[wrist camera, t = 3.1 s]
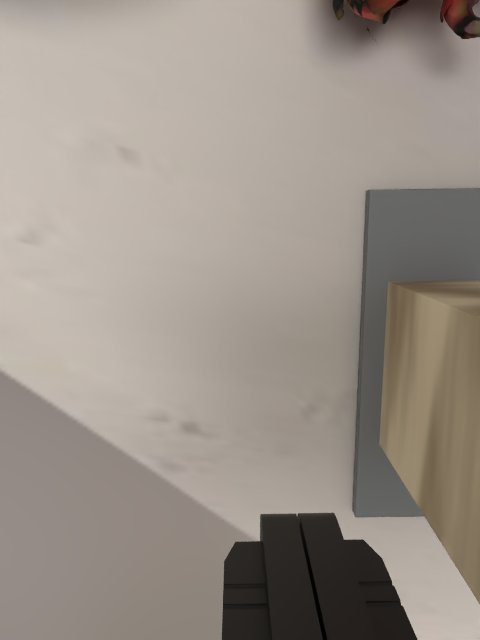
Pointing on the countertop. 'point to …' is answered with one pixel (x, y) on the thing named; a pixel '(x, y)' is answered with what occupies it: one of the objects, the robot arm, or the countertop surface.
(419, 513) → the rubber mat
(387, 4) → the dragon fruit
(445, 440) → the maple block
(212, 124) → the countertop surface
